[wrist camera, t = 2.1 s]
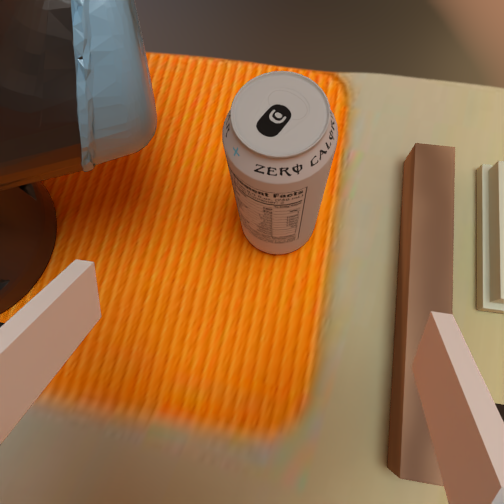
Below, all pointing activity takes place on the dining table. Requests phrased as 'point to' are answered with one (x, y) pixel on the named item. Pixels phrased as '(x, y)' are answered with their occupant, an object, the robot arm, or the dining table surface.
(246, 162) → the energy drink can
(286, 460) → the dining table surface
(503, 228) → the keeper plate
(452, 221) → the walnut sill
